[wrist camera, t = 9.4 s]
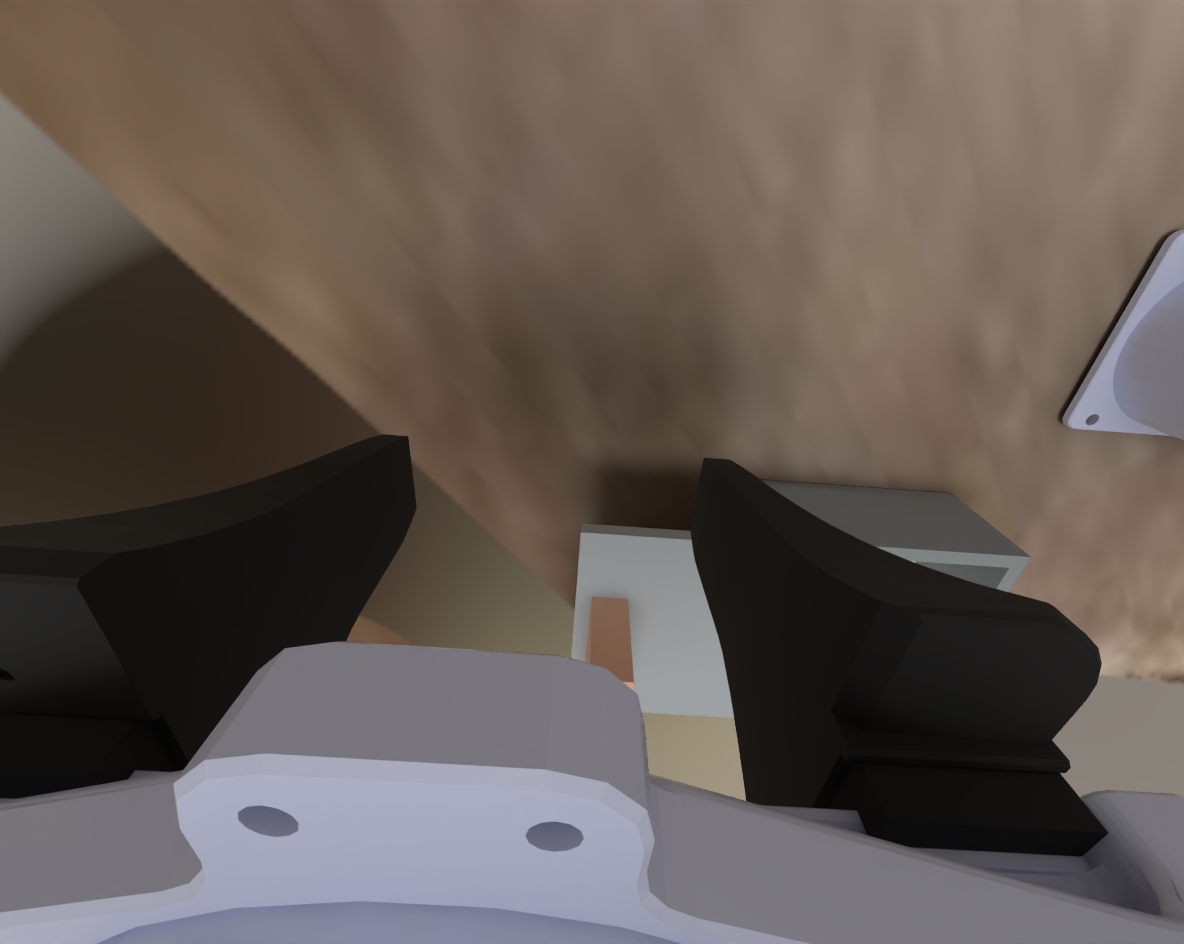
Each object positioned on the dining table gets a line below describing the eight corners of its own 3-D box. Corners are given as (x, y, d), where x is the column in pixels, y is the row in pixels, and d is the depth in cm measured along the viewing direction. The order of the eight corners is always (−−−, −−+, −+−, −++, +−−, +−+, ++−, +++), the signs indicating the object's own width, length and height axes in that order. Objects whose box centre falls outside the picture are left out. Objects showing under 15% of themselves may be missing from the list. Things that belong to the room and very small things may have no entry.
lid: (843, 541, 19) (908, 630, 15) (775, 709, 24) (811, 810, 20) (581, 523, 19) (576, 608, 15) (568, 696, 24) (561, 796, 20)
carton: (951, 493, 24) (1031, 557, 19) (878, 637, 29) (929, 714, 24) (751, 479, 24) (787, 540, 19) (712, 626, 28) (733, 702, 24)
